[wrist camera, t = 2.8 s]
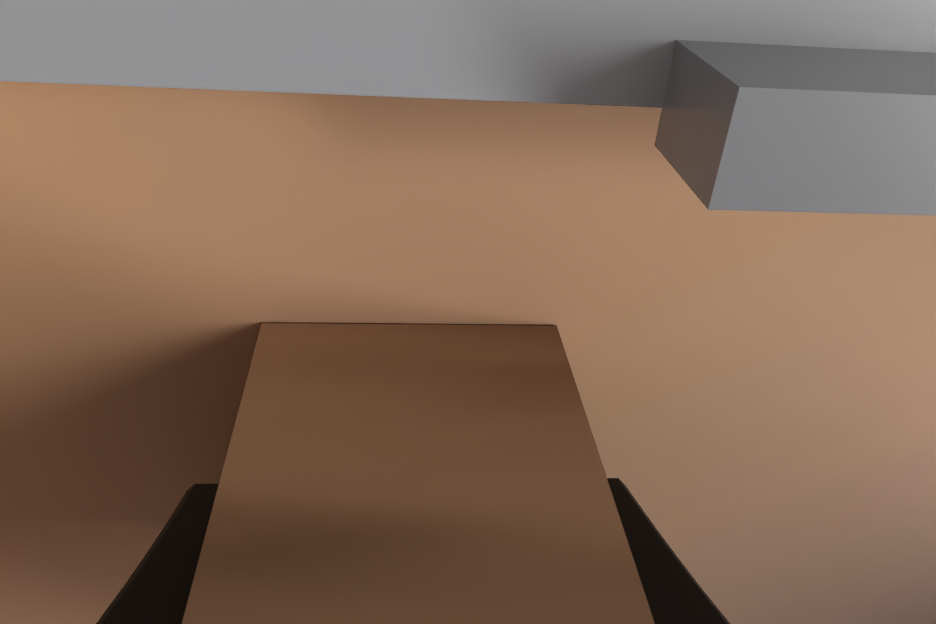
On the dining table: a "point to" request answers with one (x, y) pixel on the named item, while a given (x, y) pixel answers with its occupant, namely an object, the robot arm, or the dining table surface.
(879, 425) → the dining table surface
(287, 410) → the block
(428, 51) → the housing
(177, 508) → the robot arm
